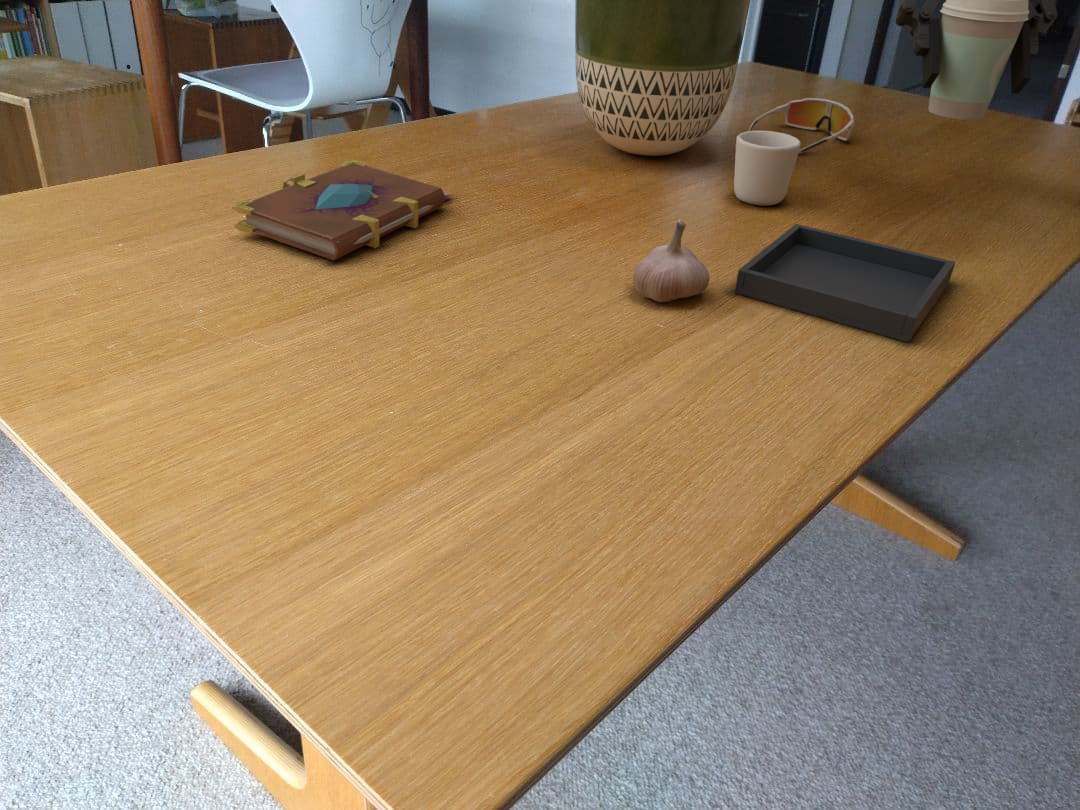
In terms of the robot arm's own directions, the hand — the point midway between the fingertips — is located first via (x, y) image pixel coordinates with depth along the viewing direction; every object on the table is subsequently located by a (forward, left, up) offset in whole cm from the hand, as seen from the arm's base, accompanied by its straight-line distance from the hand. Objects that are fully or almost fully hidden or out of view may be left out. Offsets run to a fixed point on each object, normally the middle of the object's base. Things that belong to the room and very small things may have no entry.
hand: (975, 83), depth 92 cm
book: (+59, +34, -19) cm, 70 cm away
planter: (+45, -14, -19) cm, 50 cm away
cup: (+23, -5, -19) cm, 30 cm away
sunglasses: (+29, -36, -19) cm, 50 cm away
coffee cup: (+2, -3, -4) cm, 5 cm away
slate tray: (+5, +17, -19) cm, 26 cm away
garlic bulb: (+19, +30, -19) cm, 40 cm away
